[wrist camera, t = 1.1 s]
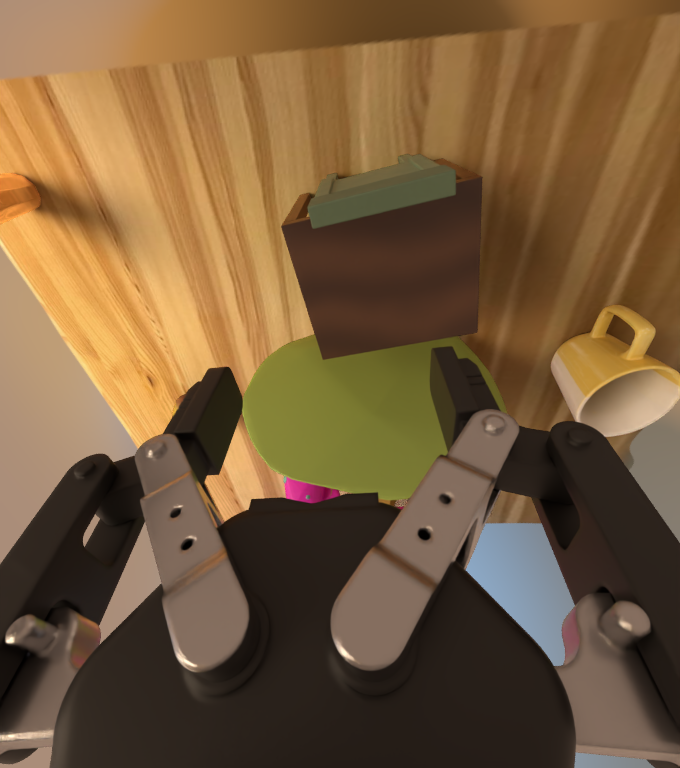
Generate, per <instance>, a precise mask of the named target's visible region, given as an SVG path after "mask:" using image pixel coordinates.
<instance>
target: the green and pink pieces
mask: <svg viewBox="0 0 680 768" xmlns="http://www.w3.org/2000/svg"><path fill="white" fill-rule="evenodd" d="M448 346H452V347H453V348H454V350H455V353H456V355H457V357H458V359H461V358H468V359H470V360H471V361H472V362H474V363H475V364H476V365H477V366H478V368H479V369H480V371H481V373H482V377H484V379H485V381H486V384H487V385H488V387H489V389H490V391H491V393H492V395H493V397H494V399H495V401H496V403H497V405H498V406H499V408H500V410H501V411H502V412H504V413H506V414H507V410H506V407H505V404H504V402H503V399H502V396H501V394H500V392H499V390H498V387H497V385H496V383H495V381H494V379H493V378H492V376H491V374H490V372H489V371H488V370H487V368H486V367H485V366H484V364H483V363H482V362H481V361H480V359H479V358H478V357H477V356H476V355H475V354H474V352H473V351H472V350H471V349H470V348H469V347H468V346H467V345H466V344H465V343H464V342H463V341H462V340H461V339H460V338H459V337H458V336H456V337H450V338H444V339H439V340H433V341H427V342H422V343H416V344H410V345H405V346H399V347H393V348H388V349H382V350H376V351H371V352H365V353H360V354H354V355H348V356H343V357H337V358H331V359H326V360H323V359H322V356H321V352H320V349H319V346H318V343H317V340H316V336H315V334H314V335H311V336H308V337H305V338H302V339H299V340H296V341H293V342H290V343H288V344H286V345H284V346H282V347H281V348H279V349H278V350H277V351H275V352H274V353H272V354H271V355H270V356H268V357H267V358H266V359H265V361H264V362H263V363H262V364H261V365H260V366H259V368H258V369H257V371H256V373H255V374H254V376H253V378H252V380H251V382H250V384H249V386H248V388H247V390H246V392H245V394H244V397H243V408H242V413H243V418H244V422H245V425H246V428H247V431H248V434H249V436H250V439H251V441H252V443H253V444H254V446H255V448H256V450H257V452H258V453H259V455H260V456H261V457H262V459H263V460H264V461H265V462H266V464H267V465H268V466H269V467H270V468H271V469H272V470H273V471H275V472H277V473H279V474H281V475H283V476H284V483H285V492H286V499H292V500H297V501H302V502H307V503H317V502H320V501H324V500H327V499H331V498H334V497H337V496H340V493H339V490H341V491H345V492H350V493H354V494H355V493H373V492H378V498H379V502H381V503H386V504H389V505H392V506H394V505H395V502H396V500H400V499H409V498H410V497H411V495H412V494H413V492H414V491H415V489H416V488H417V486H418V485H419V483H420V482H421V480H422V479H423V478H424V476H425V475H426V473H427V472H428V470H429V469H430V467H431V466H432V464H433V463H434V461H435V460H436V458H437V457H438V456H439V455H441V454H442V455H445V456H446V454H447V453H448V451H447V447H446V444H445V440H444V437H443V434H442V430H441V427H440V423H439V420H438V417H437V413H436V410H435V407H434V403H433V400H432V396H431V392H430V362H431V350H432V348H438V347H448ZM403 507H404V506H403ZM403 507H397V508H399V509H401V510H402V509H403Z"/></svg>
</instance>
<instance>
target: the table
mask: <svg viewBox="0 0 680 768" xmlns="http://www.w3.org/2000/svg"><path fill="white" fill-rule="evenodd" d="M433 162H435V163H437V164H439V165H447V166H449V167H451V168H452V169H454V170H456V195H454V196H450V197H446V198H441V199H437V200H433V201H429V202H425V203H420V204H416V205H412V206H408V207H404V208H400V209H395V210H391V211H387V212H383V213H379V214H375V215H370V216H366V217H362V218H358V219H354V220H350V221H345V222H341V223H337V224H333V225H329V226H325V227H320V228H316V229H313V228H312V224H311V220H310V217H306V216H307V214H308V209H307V207H308V205H309V203H310V200H311V198H310V194H309V193H306V194H302V195H300V196H299V198H298V199H297V201H296V203H295V204H294V206H293V208H292V209H291V211H290V213H289V214H288V216H287V218H286V219H285V221H284V223H283V224H282V226H281V228H282V231H283V234H284V237H285V240H286V244H287V247H288V250H289V253H290V256H291V260H292V263H293V266H294V269H295V272H296V276H297V279H298V282H299V285H300V288H301V292H302V295H303V298H304V301H305V304H306V308H307V311H308V314H309V317H310V320H311V324H312V327H313V330H314V333H315V336H316V340H317V343H318V346H319V349H320V352H321V356H322V359H323V360H326V359H331V358H337V357H343V356H348V355H354V354H360V353H365V352H371V351H376V350H382V349H388V348H393V347H399V346H405V345H410V344H416V343H422V342H427V341H433V340H439V339H444V338H450V337H456V336H461V335H467V334H472V333H477V331H478V299H479V267H480V235H481V203H482V177H481V176H479V175H477V174H475V173H473V172H470V171H468V170H466V169H464V168H462V167H460V166H458V165H456V164H453V163H451V162H449V161H447V160H445V159H443V158H442V159H438V160H434V161H433Z"/></svg>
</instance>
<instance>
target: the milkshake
mask: <svg viewBox="0 0 680 768" xmlns="http://www.w3.org/2000/svg"><path fill="white" fill-rule="evenodd" d="M40 198H41V196H40V194H39V193H38V191H37V189H36V187H35V185H34V184H32V183H31V182H30V181H29V180H28V179H26V178H25V177H24V176H22V175H17V174H13V173H2V174H0V225H1V224H3V223H5V222H7V221H10V220H12V219H14V218H17V217H19V216H21V215H23V214H26V213H28V212H30V211H32V210H34V209H36V208H37V207H39V206H40Z"/></svg>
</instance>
